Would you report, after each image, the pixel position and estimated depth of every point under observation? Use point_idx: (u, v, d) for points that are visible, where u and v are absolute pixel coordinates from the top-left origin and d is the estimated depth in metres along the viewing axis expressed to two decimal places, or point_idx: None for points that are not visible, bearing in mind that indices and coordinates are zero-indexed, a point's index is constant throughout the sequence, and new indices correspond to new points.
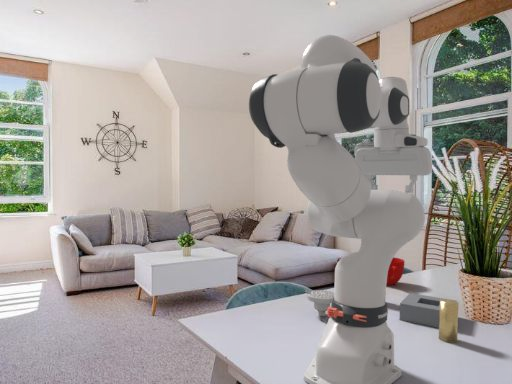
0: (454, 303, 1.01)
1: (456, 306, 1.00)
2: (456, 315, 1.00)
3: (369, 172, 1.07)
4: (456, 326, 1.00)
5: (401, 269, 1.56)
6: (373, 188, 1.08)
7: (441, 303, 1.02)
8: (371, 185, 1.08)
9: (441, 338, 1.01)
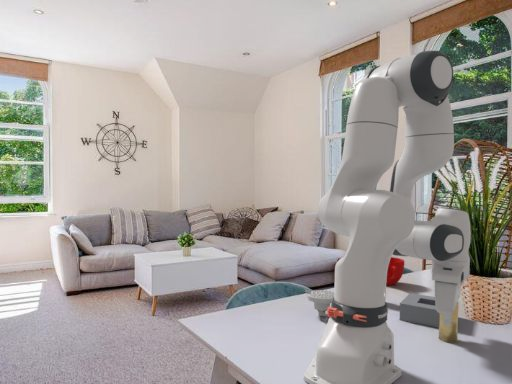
0: None
1: (456, 306, 1.00)
2: (456, 315, 1.00)
3: None
4: (456, 326, 1.00)
5: (401, 269, 1.56)
6: None
7: None
8: None
9: (441, 338, 1.01)
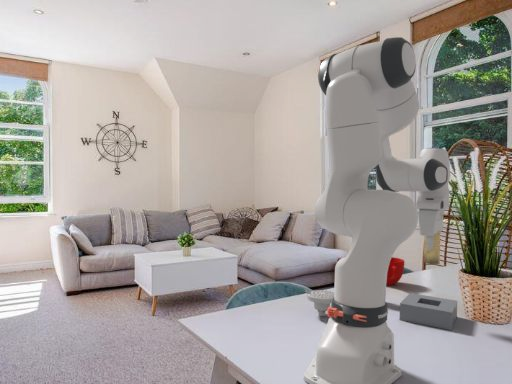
0: None
1: (438, 233, 1.16)
2: (438, 240, 1.16)
3: None
4: (438, 250, 1.16)
5: (401, 269, 1.56)
6: None
7: None
8: None
9: (426, 261, 1.17)
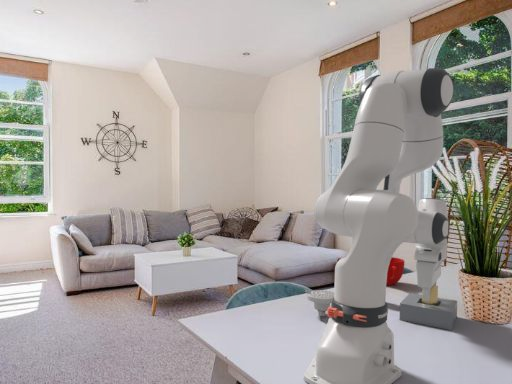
0: (434, 286, 1.17)
1: (436, 289, 1.16)
2: (436, 297, 1.16)
3: None
4: None
5: (401, 269, 1.56)
6: None
7: None
8: None
9: None
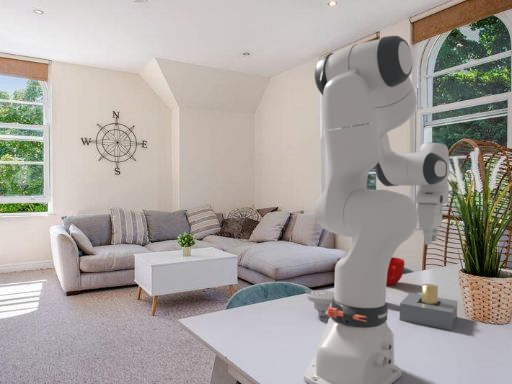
0: (433, 286, 1.17)
1: (435, 289, 1.16)
2: (435, 297, 1.16)
3: None
4: None
5: (401, 269, 1.56)
6: None
7: (423, 287, 1.18)
8: None
9: None
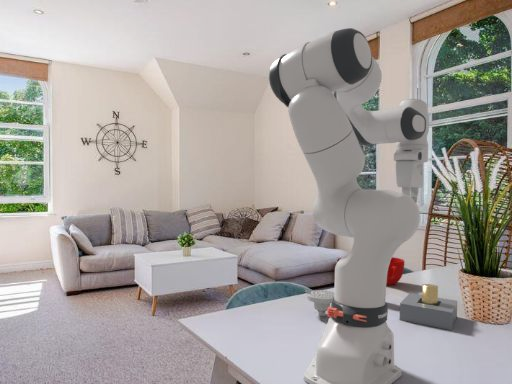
0: (434, 286, 1.17)
1: (436, 289, 1.16)
2: (436, 297, 1.16)
3: None
4: None
5: (401, 269, 1.56)
6: None
7: (423, 287, 1.18)
8: (410, 197, 1.19)
9: None
